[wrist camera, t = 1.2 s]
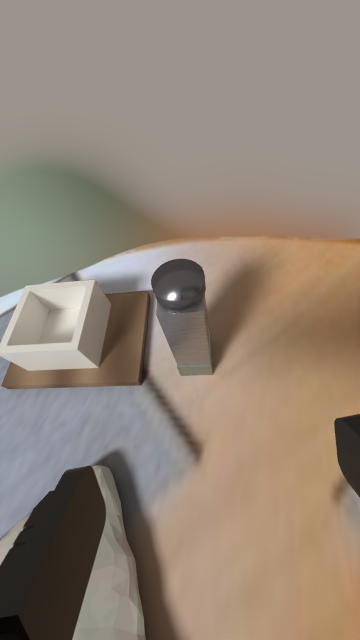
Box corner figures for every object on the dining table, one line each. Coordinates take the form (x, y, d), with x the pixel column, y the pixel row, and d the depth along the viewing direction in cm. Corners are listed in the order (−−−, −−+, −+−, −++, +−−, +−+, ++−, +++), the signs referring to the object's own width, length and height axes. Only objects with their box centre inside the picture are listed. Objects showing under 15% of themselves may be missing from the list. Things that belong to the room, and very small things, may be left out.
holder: (111, 304, 32) (95, 279, 28) (98, 367, 27) (77, 349, 23) (49, 308, 33) (25, 286, 29) (28, 370, 29) (-5, 353, 25)
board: (150, 296, 33) (147, 290, 32) (141, 385, 27) (138, 381, 26) (40, 305, 35) (35, 300, 34) (8, 389, 29) (1, 385, 28)
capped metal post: (211, 339, 29) (203, 253, 18) (213, 374, 26) (205, 301, 15) (180, 341, 29) (153, 258, 18) (179, 375, 27) (148, 306, 16)
